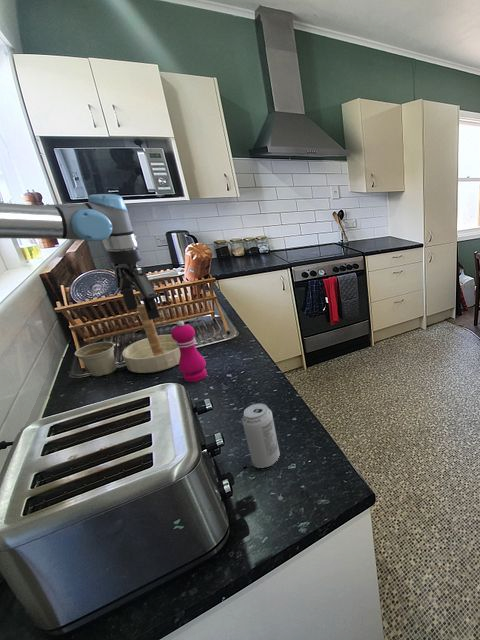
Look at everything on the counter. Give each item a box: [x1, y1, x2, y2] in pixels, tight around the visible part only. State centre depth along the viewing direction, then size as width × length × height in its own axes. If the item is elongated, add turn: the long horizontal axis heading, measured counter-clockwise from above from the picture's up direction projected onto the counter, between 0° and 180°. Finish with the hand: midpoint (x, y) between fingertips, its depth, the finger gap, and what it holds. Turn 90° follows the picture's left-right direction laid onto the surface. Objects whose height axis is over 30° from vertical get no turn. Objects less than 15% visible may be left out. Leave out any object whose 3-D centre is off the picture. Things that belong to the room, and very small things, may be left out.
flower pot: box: [74, 341, 117, 377], centre depth 112 cm, size 9×9×9 cm
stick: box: [136, 303, 164, 356], centre depth 116 cm, size 3×3×20 cm
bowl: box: [121, 333, 180, 374], centre depth 119 cm, size 17×17×6 cm
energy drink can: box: [241, 402, 281, 469], centre depth 79 cm, size 6×6×15 cm
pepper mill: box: [170, 320, 208, 383], centre depth 108 cm, size 7×7×20 cm
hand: (143, 313), depth 113 cm, fingers open, 13 cm apart
